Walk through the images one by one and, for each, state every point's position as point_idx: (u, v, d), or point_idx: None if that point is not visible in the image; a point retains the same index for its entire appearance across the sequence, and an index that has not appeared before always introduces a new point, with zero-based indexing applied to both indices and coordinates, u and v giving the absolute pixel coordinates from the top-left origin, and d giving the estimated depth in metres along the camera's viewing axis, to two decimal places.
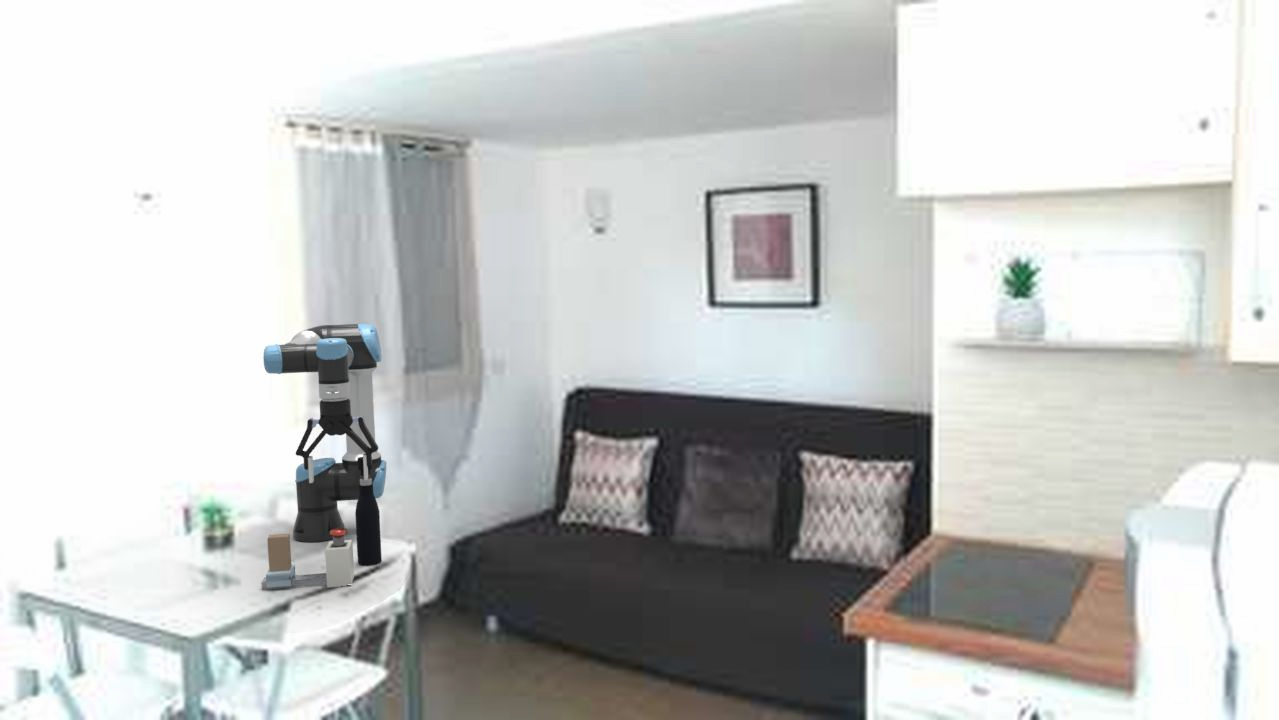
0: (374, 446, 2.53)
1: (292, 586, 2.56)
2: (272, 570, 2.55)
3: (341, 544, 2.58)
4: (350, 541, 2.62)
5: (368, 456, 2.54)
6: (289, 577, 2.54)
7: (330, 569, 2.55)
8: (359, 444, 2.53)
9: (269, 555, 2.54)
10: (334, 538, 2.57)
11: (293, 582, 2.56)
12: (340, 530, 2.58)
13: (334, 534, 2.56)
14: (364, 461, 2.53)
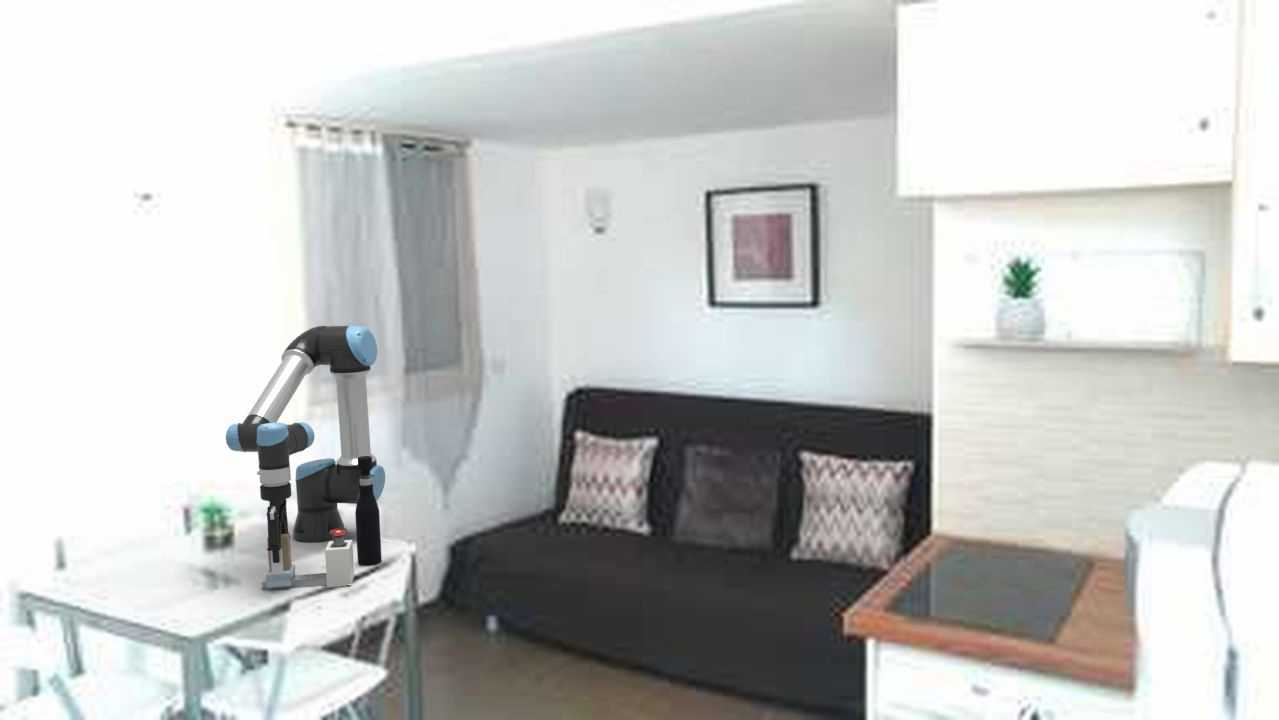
0: None
1: (292, 586, 2.56)
2: None
3: (341, 544, 2.58)
4: (350, 541, 2.62)
5: None
6: (289, 577, 2.54)
7: (330, 569, 2.55)
8: None
9: (269, 555, 2.54)
10: (334, 538, 2.57)
11: (293, 582, 2.56)
12: (340, 530, 2.58)
13: (334, 534, 2.56)
14: (271, 555, 2.52)
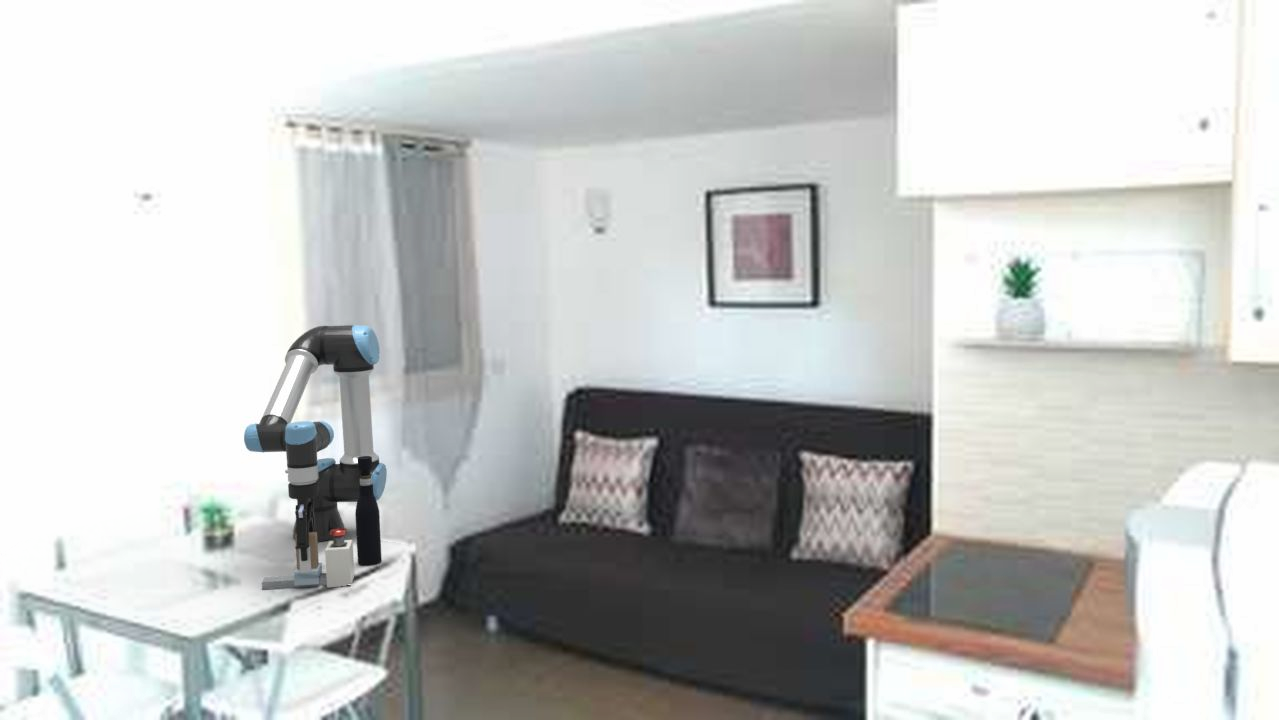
0: None
1: (292, 586, 2.56)
2: None
3: (341, 544, 2.58)
4: (350, 541, 2.62)
5: (301, 550, 2.53)
6: (317, 575, 2.55)
7: (330, 569, 2.55)
8: None
9: (297, 553, 2.56)
10: (334, 538, 2.57)
11: (293, 582, 2.56)
12: (340, 530, 2.58)
13: (334, 534, 2.56)
14: (299, 553, 2.54)
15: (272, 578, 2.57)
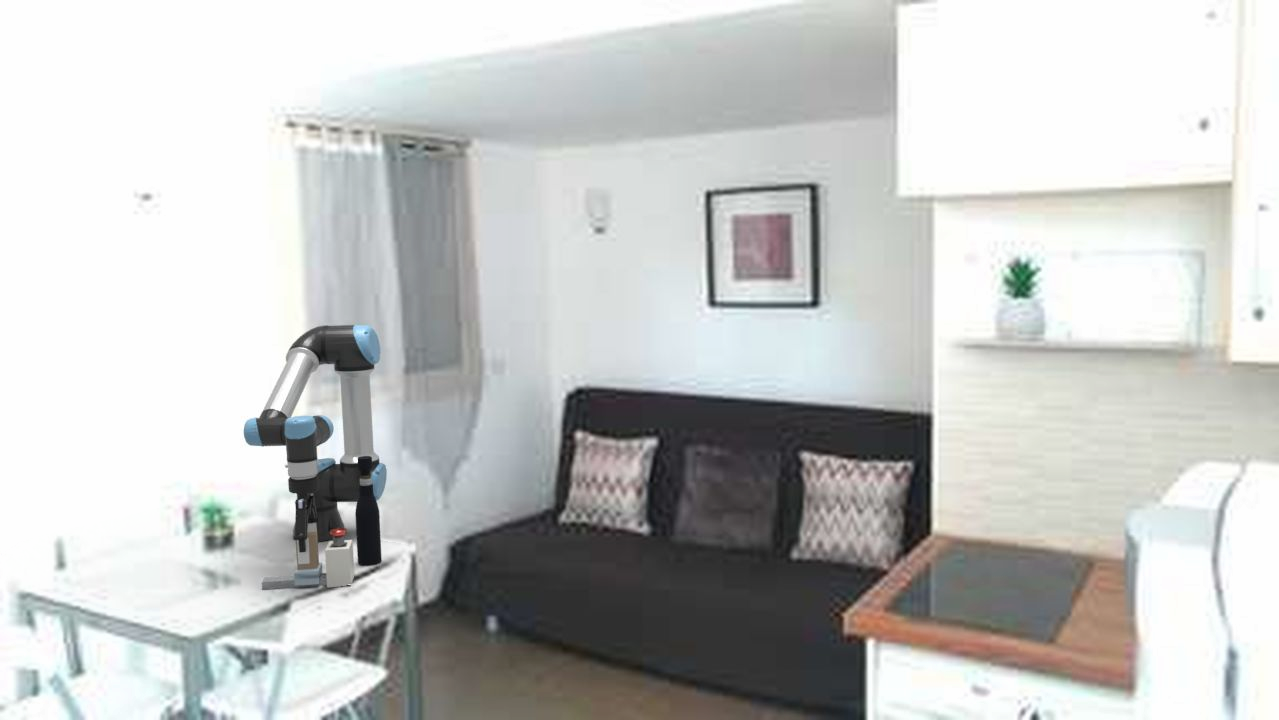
0: None
1: (292, 586, 2.56)
2: (300, 568, 2.56)
3: (341, 544, 2.58)
4: (350, 541, 2.62)
5: (299, 541, 2.50)
6: (317, 575, 2.55)
7: (330, 569, 2.55)
8: None
9: (297, 553, 2.56)
10: (334, 538, 2.57)
11: (293, 582, 2.56)
12: (340, 530, 2.58)
13: (334, 534, 2.56)
14: (297, 545, 2.51)
15: (272, 578, 2.57)
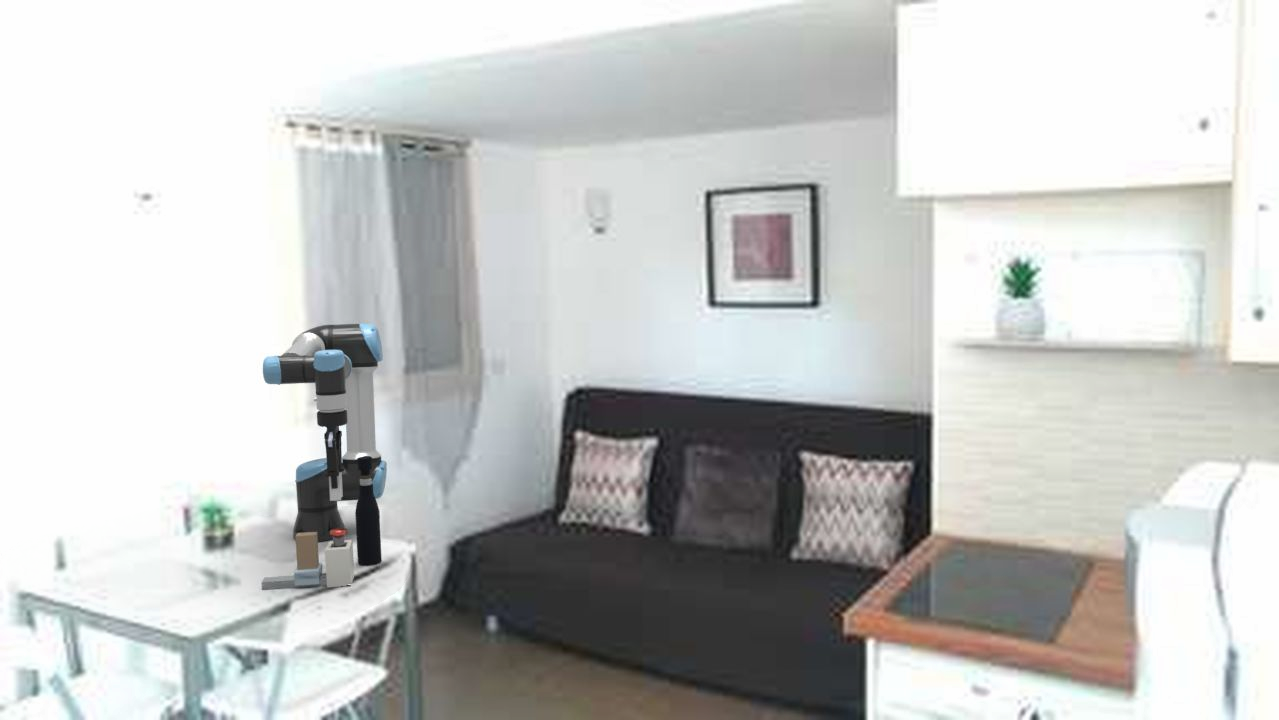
0: None
1: (292, 586, 2.56)
2: (300, 568, 2.56)
3: (341, 544, 2.58)
4: (350, 541, 2.62)
5: (331, 478, 2.54)
6: (317, 575, 2.55)
7: (330, 569, 2.55)
8: None
9: (297, 553, 2.56)
10: (334, 538, 2.57)
11: (293, 582, 2.56)
12: (340, 530, 2.58)
13: (334, 534, 2.56)
14: (329, 482, 2.55)
15: (272, 578, 2.57)
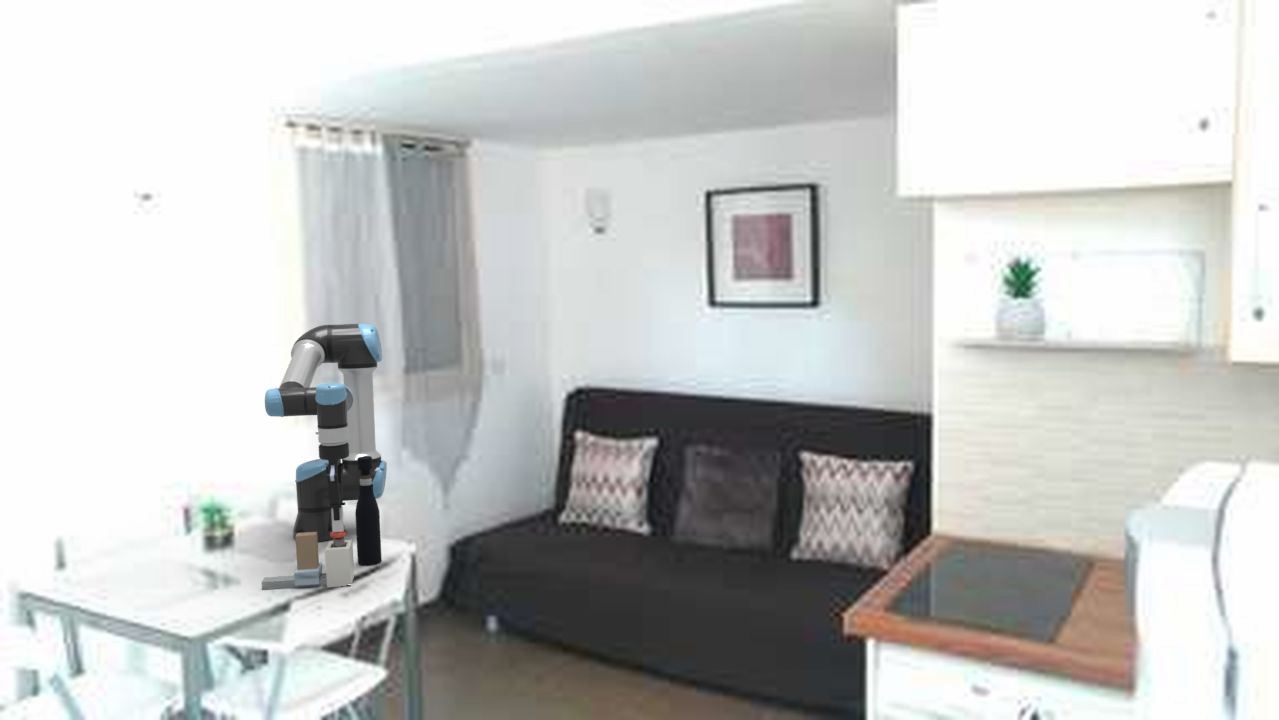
0: None
1: (292, 586, 2.56)
2: (300, 568, 2.56)
3: (341, 546, 2.58)
4: (350, 541, 2.62)
5: None
6: (317, 575, 2.55)
7: (330, 569, 2.55)
8: None
9: (297, 553, 2.56)
10: (334, 540, 2.57)
11: (293, 582, 2.56)
12: (340, 532, 2.58)
13: (334, 536, 2.56)
14: (331, 513, 2.57)
15: (272, 578, 2.57)
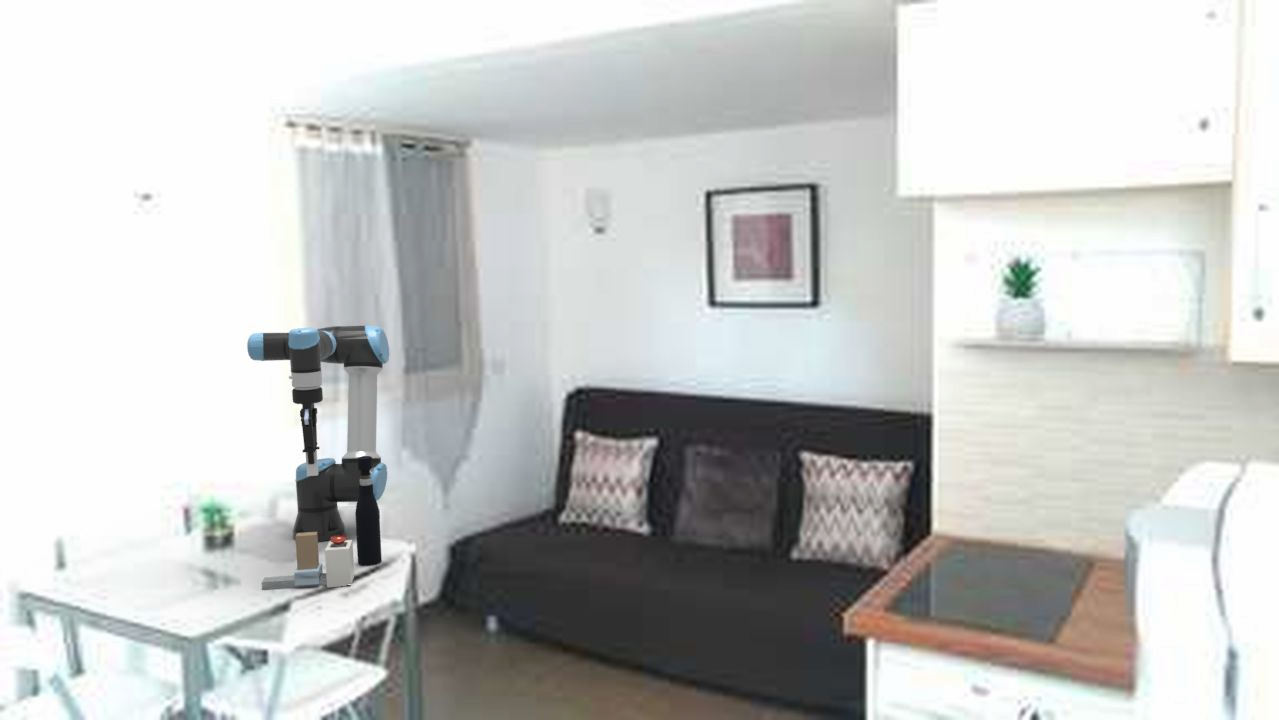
0: (304, 446, 2.56)
1: (292, 586, 2.56)
2: (300, 568, 2.56)
3: None
4: (350, 541, 2.62)
5: (308, 454, 2.59)
6: (317, 575, 2.55)
7: (330, 569, 2.55)
8: None
9: (297, 553, 2.56)
10: (334, 545, 2.58)
11: (293, 582, 2.56)
12: (340, 537, 2.58)
13: (334, 541, 2.57)
14: (306, 457, 2.60)
15: (272, 578, 2.57)
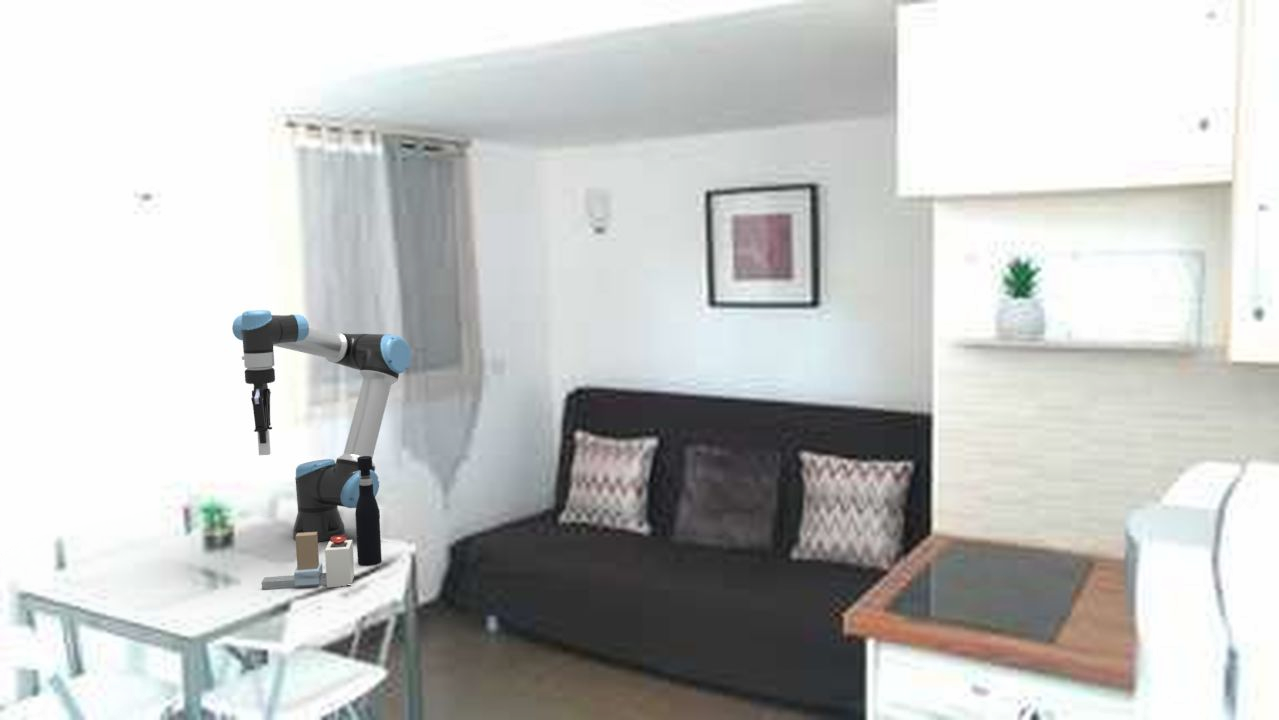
0: None
1: (292, 586, 2.56)
2: (300, 568, 2.56)
3: None
4: (350, 541, 2.62)
5: None
6: (317, 575, 2.55)
7: (330, 569, 2.55)
8: None
9: (297, 553, 2.56)
10: (334, 545, 2.58)
11: (293, 582, 2.56)
12: (340, 537, 2.58)
13: (334, 541, 2.57)
14: (258, 437, 2.65)
15: (272, 578, 2.57)
